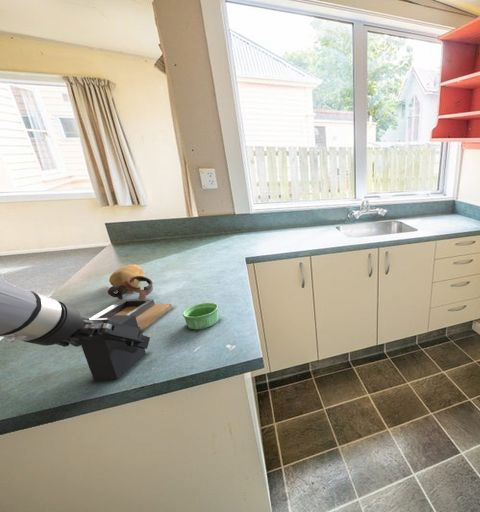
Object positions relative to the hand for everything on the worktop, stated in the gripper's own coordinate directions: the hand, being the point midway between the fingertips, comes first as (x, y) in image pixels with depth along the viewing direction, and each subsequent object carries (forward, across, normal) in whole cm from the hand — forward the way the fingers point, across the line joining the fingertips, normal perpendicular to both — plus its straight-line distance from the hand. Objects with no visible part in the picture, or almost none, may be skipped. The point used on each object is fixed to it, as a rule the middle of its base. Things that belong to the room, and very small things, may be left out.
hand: (127, 344), depth 71 cm
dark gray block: (0, 0, -5) cm, 5 cm away
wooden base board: (+16, -13, +11) cm, 24 cm away
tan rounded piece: (+35, -29, +30) cm, 54 cm away
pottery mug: (+28, -21, +22) cm, 41 cm away
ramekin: (+13, +10, +8) cm, 19 cm away
